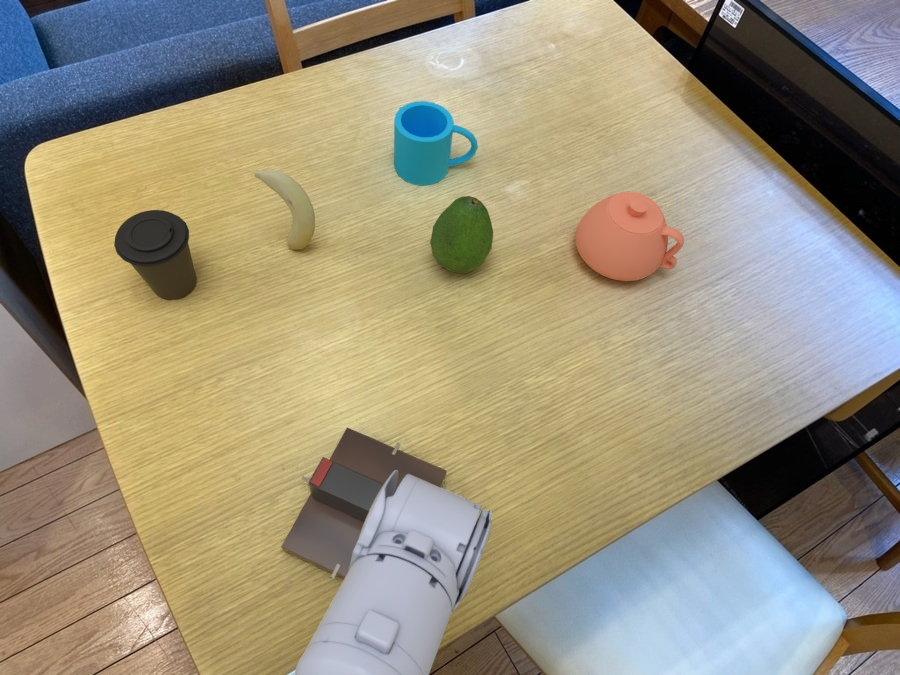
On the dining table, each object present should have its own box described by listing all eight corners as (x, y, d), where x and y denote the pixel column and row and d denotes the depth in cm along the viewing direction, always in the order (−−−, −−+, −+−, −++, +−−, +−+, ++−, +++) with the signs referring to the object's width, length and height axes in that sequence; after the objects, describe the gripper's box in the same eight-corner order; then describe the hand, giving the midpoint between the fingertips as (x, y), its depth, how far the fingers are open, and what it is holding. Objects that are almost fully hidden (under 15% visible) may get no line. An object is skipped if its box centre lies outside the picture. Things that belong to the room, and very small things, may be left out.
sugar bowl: (590, 208, 91) (611, 155, 83) (680, 248, 89) (712, 198, 80) (557, 265, 85) (576, 215, 77) (652, 310, 83) (684, 263, 74)
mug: (393, 184, 90) (393, 140, 83) (394, 144, 95) (395, 99, 88) (475, 187, 92) (482, 144, 84) (473, 148, 96) (480, 104, 89)
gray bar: (421, 515, 65) (424, 501, 60) (409, 542, 63) (411, 530, 59) (326, 472, 66) (322, 455, 62) (312, 498, 65) (307, 482, 60)
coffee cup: (219, 289, 79) (199, 239, 70) (157, 320, 76) (128, 271, 67) (190, 247, 82) (167, 193, 73) (129, 275, 79) (98, 222, 70)
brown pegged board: (402, 614, 62) (403, 611, 60) (266, 550, 64) (263, 545, 62) (460, 477, 69) (462, 471, 67) (337, 423, 71) (336, 416, 69)
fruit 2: (481, 291, 82) (495, 232, 72) (422, 279, 82) (428, 218, 72) (491, 246, 86) (505, 183, 76) (435, 234, 86) (442, 170, 76)
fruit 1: (320, 258, 81) (330, 245, 82) (291, 177, 72) (303, 165, 74) (283, 252, 83) (294, 240, 84) (250, 172, 74) (263, 160, 76)
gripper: (409, 453, 47) (405, 503, 59) (314, 650, 40) (331, 663, 52) (496, 491, 46) (474, 534, 58) (415, 700, 39) (408, 701, 51)
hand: (411, 597), depth 55 cm, fingers open, 7 cm apart
